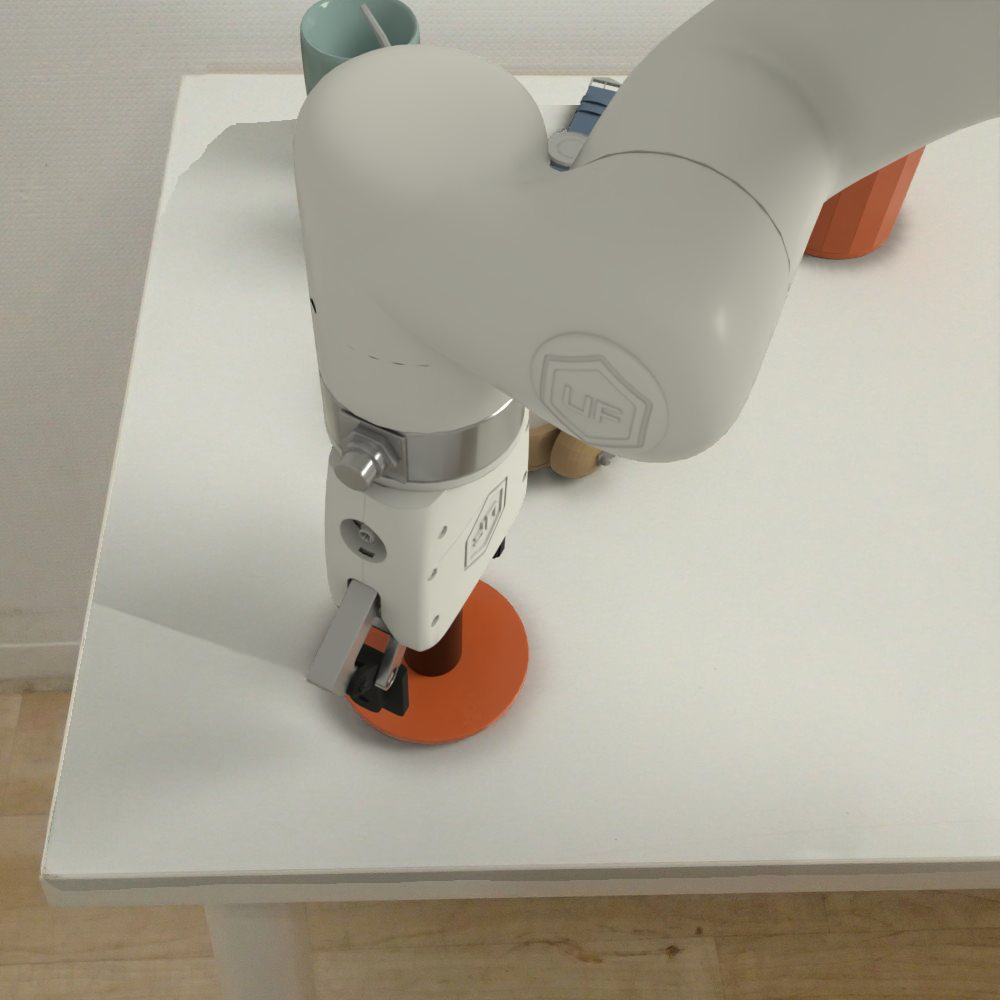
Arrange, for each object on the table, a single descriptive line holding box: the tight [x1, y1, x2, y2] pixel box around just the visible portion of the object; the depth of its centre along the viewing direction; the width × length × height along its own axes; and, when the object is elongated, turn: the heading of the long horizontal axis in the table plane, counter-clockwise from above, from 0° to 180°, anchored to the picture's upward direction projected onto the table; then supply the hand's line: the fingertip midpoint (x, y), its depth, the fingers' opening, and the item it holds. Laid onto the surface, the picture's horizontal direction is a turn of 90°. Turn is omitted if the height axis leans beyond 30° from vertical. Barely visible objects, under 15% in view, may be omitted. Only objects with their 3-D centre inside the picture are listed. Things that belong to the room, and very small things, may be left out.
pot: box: [804, 145, 927, 260], centre depth 78 cm, size 9×9×10 cm
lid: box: [344, 579, 530, 745], centre depth 58 cm, size 10×10×6 cm
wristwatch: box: [548, 76, 622, 172], centre depth 83 cm, size 4×20×1 cm, turn 161°
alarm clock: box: [528, 410, 617, 479], centre depth 69 cm, size 11×5×15 cm
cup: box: [299, 0, 421, 97], centre depth 80 cm, size 8×8×10 cm
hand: (427, 617), depth 57 cm, fingers open, 9 cm apart
